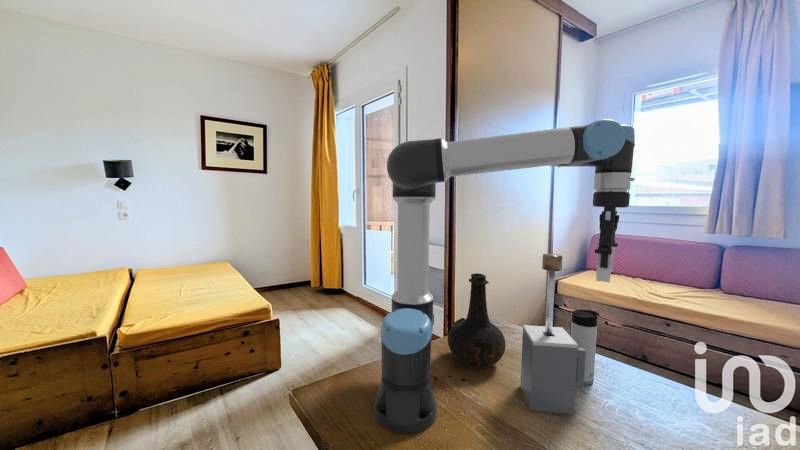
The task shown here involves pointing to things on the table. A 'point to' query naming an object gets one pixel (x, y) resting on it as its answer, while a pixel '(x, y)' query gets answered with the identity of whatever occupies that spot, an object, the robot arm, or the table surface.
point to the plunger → (551, 286)
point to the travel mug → (585, 339)
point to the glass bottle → (476, 331)
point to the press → (551, 369)
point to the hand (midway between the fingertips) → (604, 275)
